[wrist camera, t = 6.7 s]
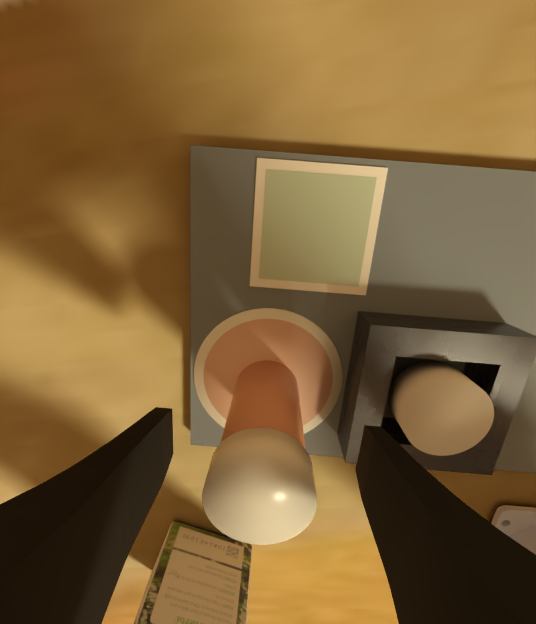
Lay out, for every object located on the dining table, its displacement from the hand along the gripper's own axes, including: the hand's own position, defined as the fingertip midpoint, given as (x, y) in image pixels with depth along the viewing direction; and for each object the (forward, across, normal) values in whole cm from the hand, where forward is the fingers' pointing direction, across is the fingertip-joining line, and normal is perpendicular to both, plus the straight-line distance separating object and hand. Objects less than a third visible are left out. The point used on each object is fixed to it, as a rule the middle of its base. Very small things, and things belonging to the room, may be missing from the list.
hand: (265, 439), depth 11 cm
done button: (+3, -7, -1) cm, 8 cm away
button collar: (+5, -7, -1) cm, 9 cm away
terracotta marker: (+4, 0, 0) cm, 4 cm away
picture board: (+5, -6, -3) cm, 9 cm away
